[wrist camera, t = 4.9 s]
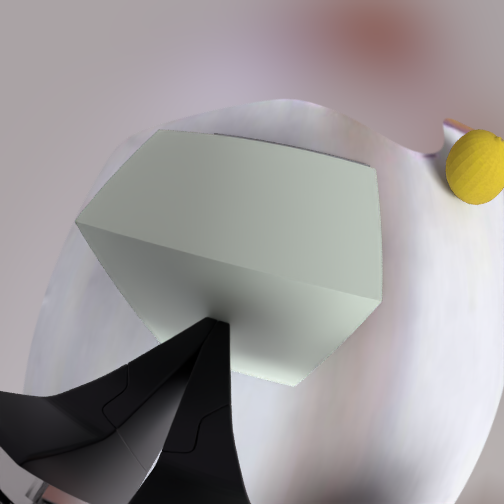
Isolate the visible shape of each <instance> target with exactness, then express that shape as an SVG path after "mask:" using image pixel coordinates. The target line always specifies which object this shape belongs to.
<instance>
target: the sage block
mask: <svg viewBox="0 0 504 504" xmlns="http://www.w3.org/2000/svg"><path fill="white" fill-rule="evenodd" d="M75 222H76V224H77V226H78V228H79V229H80V231H81V233H82V234H83V236H84V238H85V239H86V241H87V243H88V244H89V246H90V248H91V249H92V251H93V252H94V254H95V255H96V257H97V259H98V260H99V262H100V263H101V265H102V266H103V268H104V269H105V271H106V272H107V274H108V275H109V277H110V278H111V279H112V281H113V282H114V284H115V285H116V287H117V288H118V289H119V291H120V292H121V294H122V295H123V296H124V298H125V299H126V300H127V302H128V303H129V304H130V306H131V307H132V308H133V310H134V311H135V312H136V314H137V315H138V316H139V317H140V319H141V320H142V321H143V323H144V324H145V325H146V326H147V328H148V329H149V330H150V331H151V332H152V334H153V335H154V336H155V337H156V338H157V340H158V341H159V342H160V343H161V344H162V343H163V342H165V341H167V340H168V339H170V338H172V337H173V336H175V335H177V334H178V333H180V332H182V331H183V330H185V329H187V328H188V327H190V326H192V325H193V324H195V323H197V322H198V321H200V320H202V319H203V318H205V317H210V318H214V319H217V320H218V321H219V320H220V321H223V322H227V323H229V324H230V361H231V370H232V371H235V372H238V373H242V374H246V375H249V376H253V377H257V378H260V379H264V380H268V381H272V382H276V383H280V384H285V385H289V386H294V387H295V386H296V385H297V384H298V383H300V382H301V381H302V380H303V379H304V378H305V377H306V376H308V375H309V374H310V373H311V372H312V371H313V370H314V369H315V368H317V367H318V366H319V365H320V364H321V363H322V362H323V361H324V360H325V359H326V358H327V357H328V356H330V355H331V354H332V353H333V352H334V351H335V350H336V349H337V348H338V347H339V346H340V345H341V344H342V343H343V342H344V341H345V340H346V339H347V338H348V337H349V336H350V335H351V334H352V333H353V332H354V331H355V330H356V329H357V328H358V327H359V326H360V325H361V324H362V323H363V321H364V320H365V319H366V318H367V317H368V316H369V315H370V314H371V313H372V312H373V311H374V310H375V308H376V307H377V306H378V305H379V304H380V303H381V302H382V236H381V218H380V205H379V194H378V185H377V176H376V169H374V168H371V167H368V166H364V165H361V164H357V163H354V162H350V161H347V160H343V159H339V158H335V157H331V156H327V155H323V154H319V153H315V152H310V151H306V150H302V149H297V148H292V147H287V146H282V145H277V144H272V143H266V142H261V141H255V140H248V139H242V138H235V137H228V136H221V135H213V134H204V133H195V132H184V131H172V130H158V131H157V132H156V133H155V134H154V135H153V136H152V137H151V138H149V139H148V140H147V141H146V142H145V143H144V144H143V145H142V146H141V147H140V148H139V149H138V150H137V151H136V152H135V153H134V154H133V155H132V156H131V157H130V158H129V159H128V160H127V161H126V162H125V163H124V164H123V165H122V166H121V167H120V169H119V170H118V171H117V172H116V173H115V174H114V175H113V176H112V177H111V178H110V179H109V181H108V182H107V183H106V184H105V185H104V186H103V187H102V188H101V190H100V191H99V192H98V193H97V194H96V195H95V197H94V198H93V199H92V200H91V201H90V203H89V204H88V205H87V206H86V208H85V209H84V210H83V211H82V213H81V214H80V215H79V216H78V218H77V219H76V220H75Z"/></svg>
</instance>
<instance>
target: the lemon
mask: <svg viewBox="0 0 504 504" xmlns="http://www.w3.org/2000/svg"><path fill="white" fill-rule="evenodd" d="M446 177H447V181H448V184H449V186H450V188H451V190H452V191H453V193H454V194H455V195H456V196H457V197H458V198H459V199H461V200H462V201H464V202H466V203H468V204H473V205H479V204H484V203H487V202H489V201H491V200H492V199H494V198H495V197H496V196H497V195H498V194H499V193H500V192H501V191H502V189H503V188H504V140H503V139H502V138H501V137H497V136H496V135H495V134H493V133H491V132H489V131H485V130H472V131H470V132H468V133H466V134H465V135H464V136H462V137H461V138H460V139H459V140H458V141H457V142H456V143H455V144H454V145H453V147H452V148H451V150H450V153H449V155H448V157H447V160H446Z"/></svg>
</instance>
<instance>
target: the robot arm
mask: <svg viewBox="0 0 504 504" xmlns="http://www.w3.org/2000/svg"><path fill="white" fill-rule="evenodd" d="M161 449H162V452H161V454H160V456H159V459H158V461H157V463H156V465H155V467H154V468H153V470H152V471H151V473H150V474H149V476H148V477H147V478H146V480H145V481H144V482H143V480H144V478H145V477H146V475H147V473H148V472H149V470H150V468H151V466H152V465H153V463H154V461H155V460H156V458H157V456H158V454H159V453H160V451H161ZM142 482H143V484H142ZM141 484H142V485H141ZM140 485H141V487H140ZM139 487H140V488H139ZM137 490H138V491H137ZM0 504H251V503H250V500H249V498H248V495H247V492H246V489H245V485H244V482H243V478H242V473H241V469H240V464H239V460H238V455H237V451H236V446H235V440H234V434H233V426H232V406H231V361H230V324H229V323H227V322H223V321H220V320H219V321H218V320H217V319H214V318H210V317H205V318H203V319H202V320H200V321H198V322H197V323H195V324H193V325H192V326H190V327H188V328H187V329H185V330H183V331H182V332H180V333H178V334H177V335H175V336H173V337H172V338H170V339H168V340H167V341H165V342H163V343H162V344H160V345H158V346H157V347H155V348H153V349H151V350H150V351H148V352H146V353H145V354H143V355H141V356H139V357H138V358H136V359H134V360H132V361H131V362H129V363H128V365H127V364H125V365H123V366H122V367H120V368H118V369H116V370H114V371H113V372H111V373H109V374H107V375H105V376H103V377H100V378H98V379H96V380H94V381H91V382H89V383H86V384H84V385H81V386H79V387H76V388H74V389H71V390H69V391H66V392H63V393H61V394H58V395H54V396H48V397H38V396H30V395H22V394H15V393H9V392H3V391H0Z"/></svg>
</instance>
